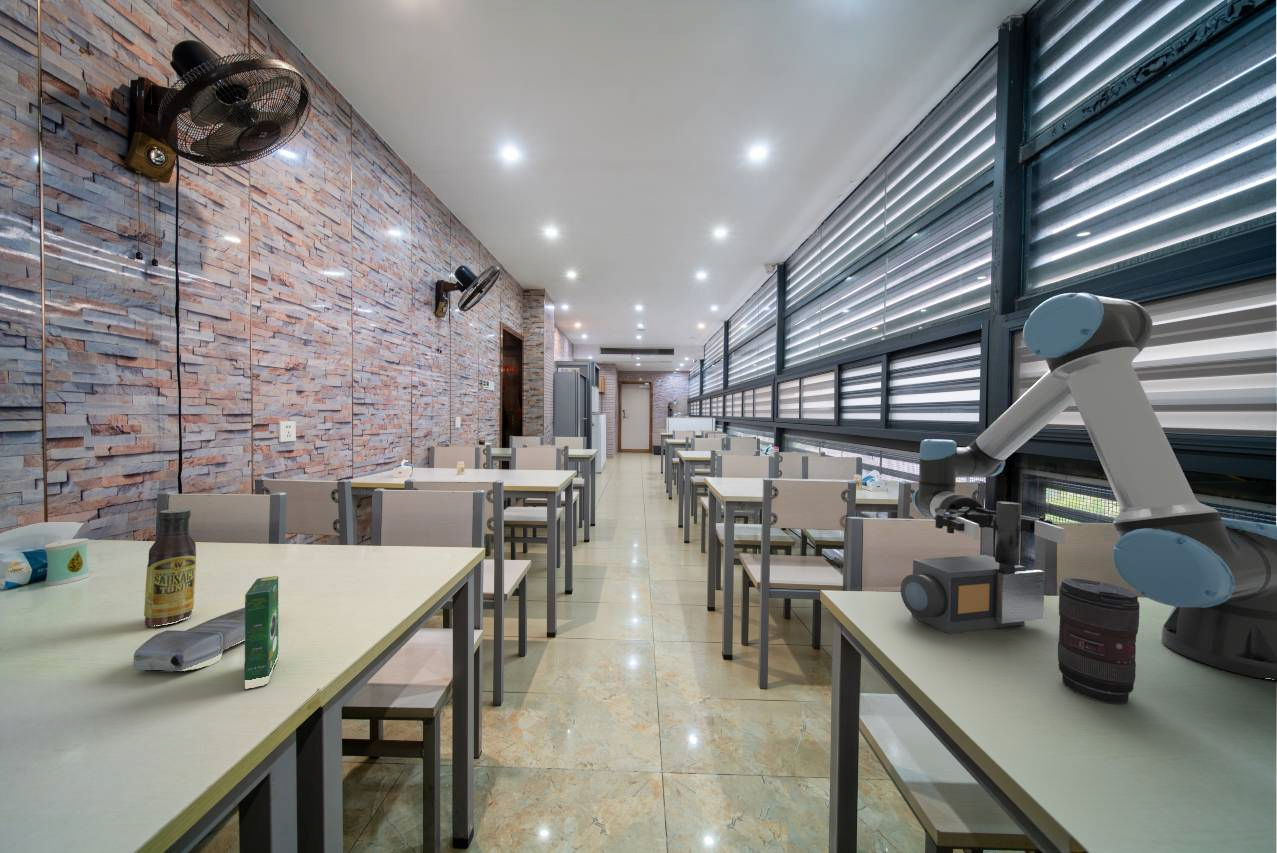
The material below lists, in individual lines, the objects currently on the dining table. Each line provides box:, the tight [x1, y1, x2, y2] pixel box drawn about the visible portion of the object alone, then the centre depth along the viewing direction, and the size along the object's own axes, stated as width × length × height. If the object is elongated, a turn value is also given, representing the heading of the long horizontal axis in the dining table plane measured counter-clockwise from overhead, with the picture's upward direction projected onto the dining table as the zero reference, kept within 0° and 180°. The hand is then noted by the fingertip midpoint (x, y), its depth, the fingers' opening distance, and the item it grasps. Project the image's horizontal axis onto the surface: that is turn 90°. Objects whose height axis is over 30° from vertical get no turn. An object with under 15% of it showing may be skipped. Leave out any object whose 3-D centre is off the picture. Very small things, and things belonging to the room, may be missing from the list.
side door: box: [994, 500, 1046, 624], centre depth 86 cm, size 10×4×22 cm, turn 104°
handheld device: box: [133, 607, 245, 672], centre depth 75 cm, size 10×20×5 cm, turn 178°
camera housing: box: [900, 554, 1027, 634], centre depth 88 cm, size 21×8×11 cm, turn 104°
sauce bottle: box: [143, 508, 197, 627], centre depth 82 cm, size 6×6×20 cm
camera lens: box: [1057, 577, 1140, 705], centre depth 66 cm, size 8×8×15 cm
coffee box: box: [243, 575, 279, 680], centre depth 66 cm, size 8×3×13 cm, turn 30°
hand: (1019, 534), depth 82 cm, fingers open, 13 cm apart
